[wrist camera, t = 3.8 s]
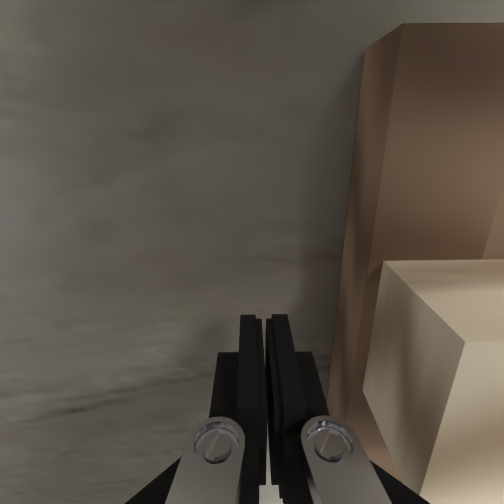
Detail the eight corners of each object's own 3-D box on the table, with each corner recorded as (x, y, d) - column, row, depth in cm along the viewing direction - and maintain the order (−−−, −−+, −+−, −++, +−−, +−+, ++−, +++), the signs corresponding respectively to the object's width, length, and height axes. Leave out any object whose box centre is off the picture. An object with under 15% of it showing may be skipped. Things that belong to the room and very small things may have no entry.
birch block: (382, 260, 11) (465, 342, 7) (551, 258, 11) (735, 338, 7) (362, 390, 13) (414, 510, 9) (502, 388, 13) (618, 507, 9)
